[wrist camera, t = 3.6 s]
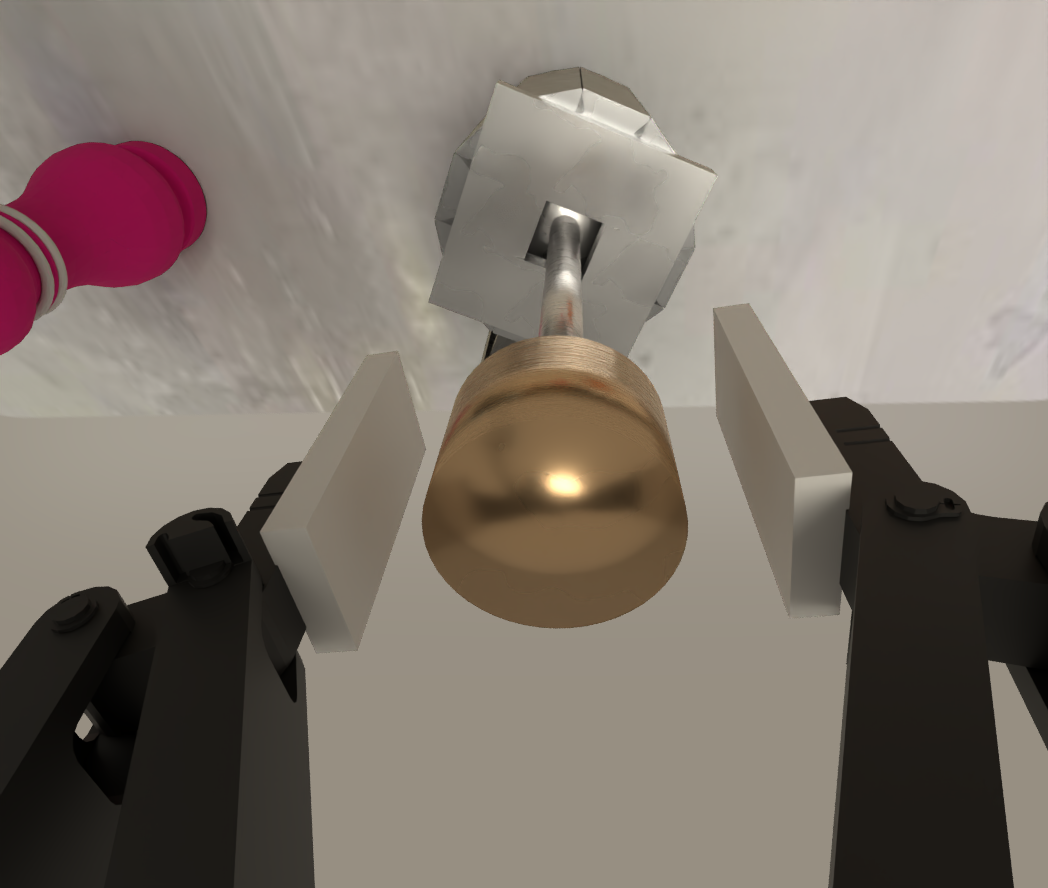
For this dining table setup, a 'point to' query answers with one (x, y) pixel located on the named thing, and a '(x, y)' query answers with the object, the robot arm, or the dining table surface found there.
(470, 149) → the faceted grey canister
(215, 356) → the dining table surface
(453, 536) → the plunger
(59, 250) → the pepper mill
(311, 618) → the robot arm
